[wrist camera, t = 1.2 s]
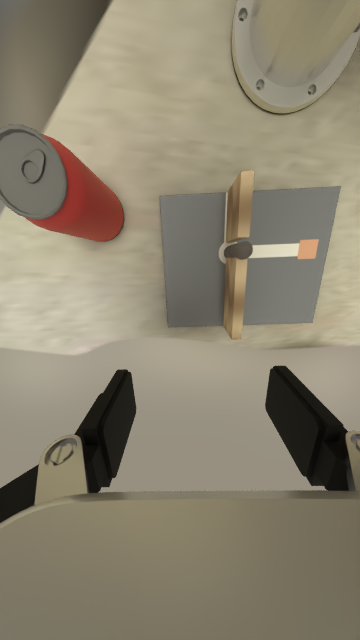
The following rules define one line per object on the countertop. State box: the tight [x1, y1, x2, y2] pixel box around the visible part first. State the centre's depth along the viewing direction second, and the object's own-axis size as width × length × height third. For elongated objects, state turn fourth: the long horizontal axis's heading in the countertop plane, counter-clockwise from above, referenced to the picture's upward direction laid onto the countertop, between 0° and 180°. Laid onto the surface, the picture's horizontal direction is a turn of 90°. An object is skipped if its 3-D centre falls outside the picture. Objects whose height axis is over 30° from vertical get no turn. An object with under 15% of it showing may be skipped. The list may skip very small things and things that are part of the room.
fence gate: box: [223, 241, 253, 339], centre depth 23 cm, size 11×2×6 cm, turn 2°
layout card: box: [160, 186, 341, 327], centre depth 25 cm, size 18×22×1 cm
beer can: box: [0, 125, 124, 241], centre depth 18 cm, size 7×7×12 cm
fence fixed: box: [226, 170, 254, 242], centre depth 20 cm, size 6×1×6 cm, turn 2°
